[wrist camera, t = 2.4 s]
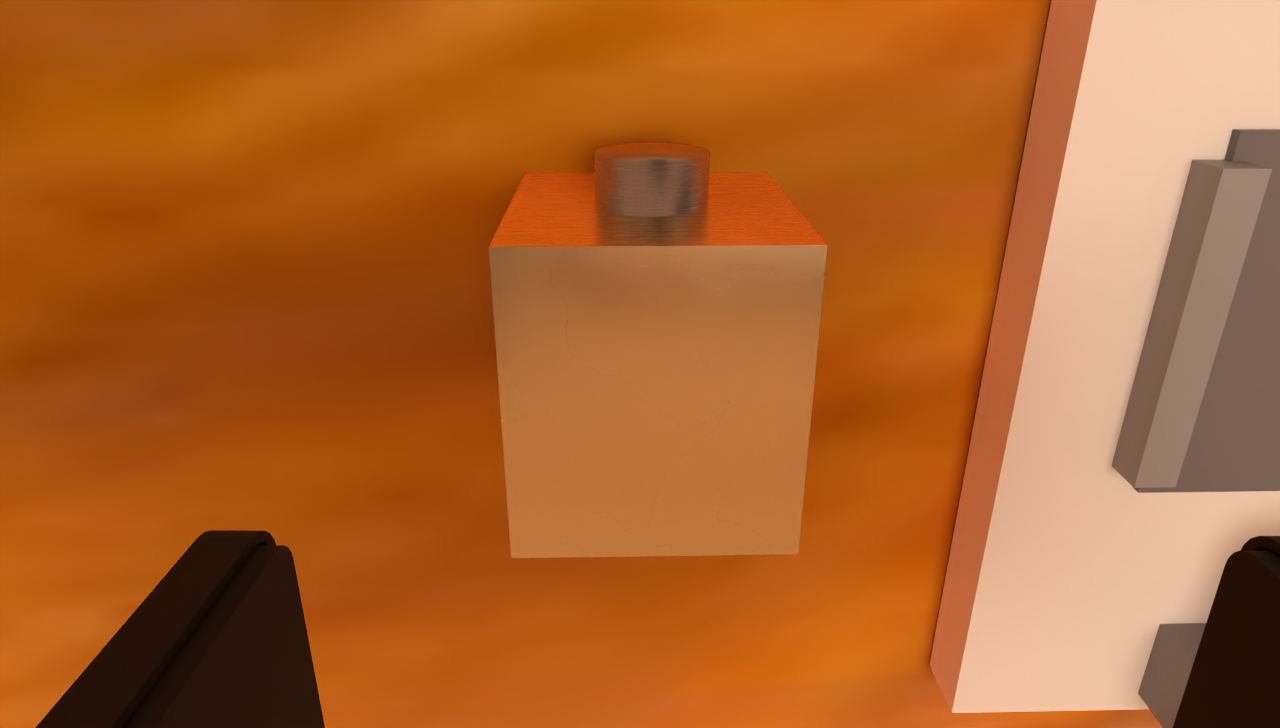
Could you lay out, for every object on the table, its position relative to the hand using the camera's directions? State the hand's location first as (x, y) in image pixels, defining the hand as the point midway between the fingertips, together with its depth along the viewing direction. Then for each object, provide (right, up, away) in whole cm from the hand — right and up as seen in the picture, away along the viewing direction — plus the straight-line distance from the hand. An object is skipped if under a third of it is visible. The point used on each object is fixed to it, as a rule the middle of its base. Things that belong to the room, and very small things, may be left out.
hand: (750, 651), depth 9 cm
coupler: (-1, +4, +8) cm, 9 cm away
